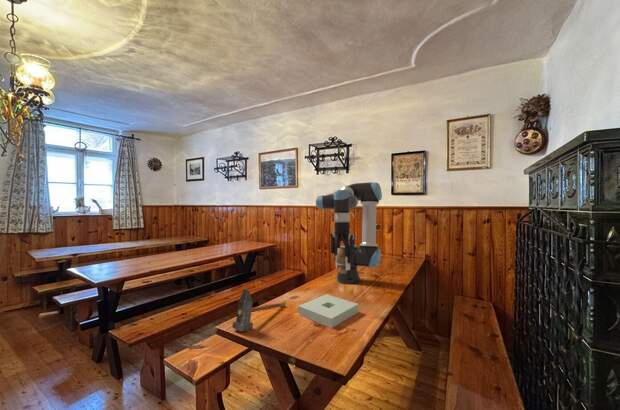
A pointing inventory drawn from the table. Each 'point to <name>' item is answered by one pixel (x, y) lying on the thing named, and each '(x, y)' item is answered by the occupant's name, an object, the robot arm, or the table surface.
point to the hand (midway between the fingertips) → (342, 268)
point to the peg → (341, 259)
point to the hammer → (249, 311)
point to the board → (328, 310)
